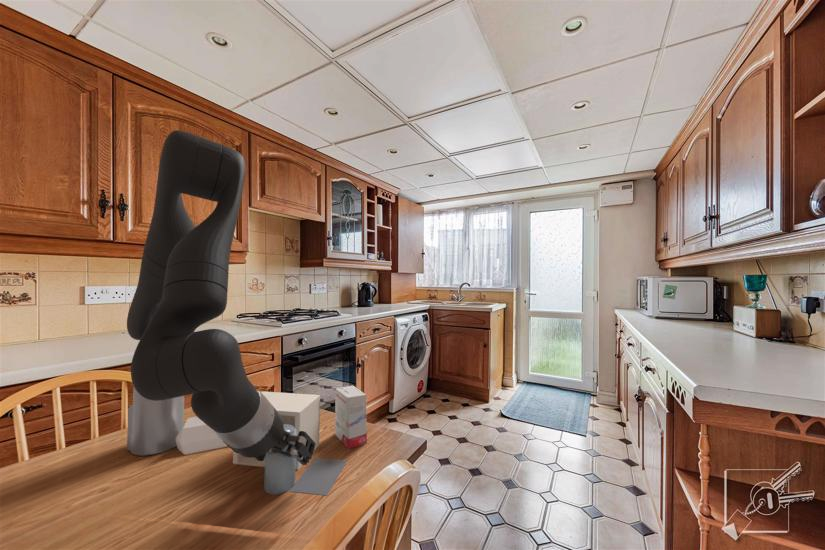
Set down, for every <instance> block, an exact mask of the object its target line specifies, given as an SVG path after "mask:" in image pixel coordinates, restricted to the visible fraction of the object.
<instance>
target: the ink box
mask: <svg viewBox="0 0 825 550" xmlns="http://www.w3.org/2000/svg"><path fill="white" fill-rule="evenodd" d="M334 398H335V401H334V402H335V403H334V404H335V405H334V406H335V407H334V408H335V409H334V411H335V412H334V413H335V415H334V417H335V418H334V419H335V420H334V423H335V424H334V434H335V436H336V438H338V439H339V440H340V441H341V442H342V443H343V445H344V446H345V447H346V448H347V449H353V448H355V447H359V446H362V445H366V444H367V443H368V439H367V437H368V433H367V431H368V430H367V427H368V426H367V423H368V422H367V394H366V393H364V392H363V391H361V390H360V389H359V388H357V387H356V386H354V385H347V386H342V387H336V388H335V397H334Z"/></svg>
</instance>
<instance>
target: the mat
mask: <svg viewBox="0 0 825 550" xmlns="http://www.w3.org/2000/svg"><path fill="white" fill-rule="evenodd" d="M347 462H348V460H343V459H334V458H333V459H332V458H331V459H330V458H320V457H314V458H313V460H312V462H311V463H310V464H309V465H308V467H307V468H305V471H304V472H303V473H302V474H301V475H300V476H299V477H298V478H299V479H297V481H295V484H294V486H293V487H292V488H291V489H290V490H288V491H289V492H288V493H298V494H310V495H317V496H319V495H320V496H325V497H326V496H328V495H329V493H330V492H331V490H332V489H333V486H334V485H335V483H336V481H337V479H338V478H339V476H340V474H341V473H342V471H343V469H344V467H345V466H346V464H347Z"/></svg>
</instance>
